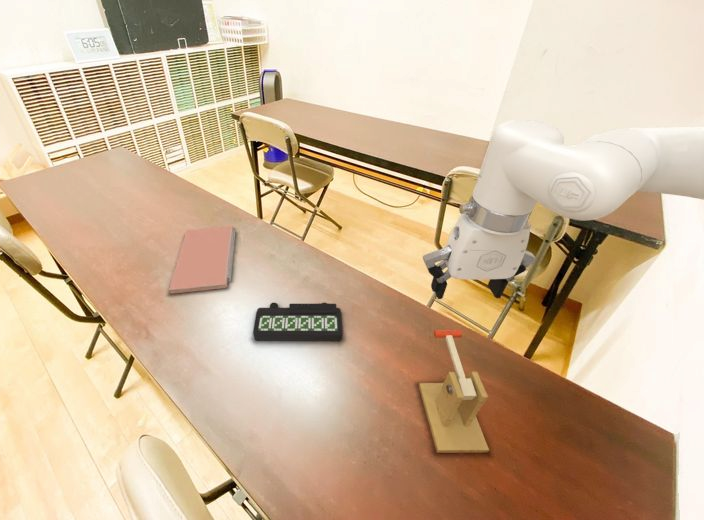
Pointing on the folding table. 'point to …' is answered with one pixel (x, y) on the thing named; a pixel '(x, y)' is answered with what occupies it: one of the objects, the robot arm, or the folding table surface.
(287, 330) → the digital display
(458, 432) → the bracket
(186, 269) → the notebook
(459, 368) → the lever
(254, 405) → the folding table surface
